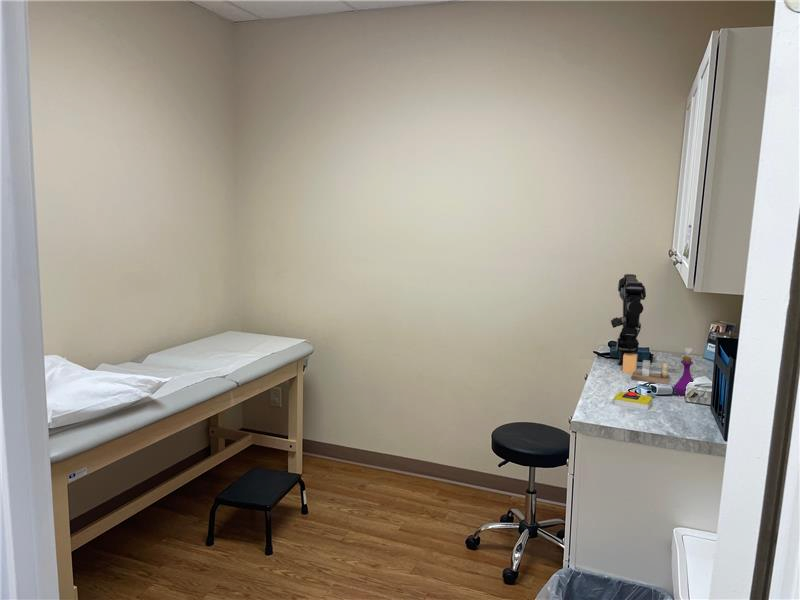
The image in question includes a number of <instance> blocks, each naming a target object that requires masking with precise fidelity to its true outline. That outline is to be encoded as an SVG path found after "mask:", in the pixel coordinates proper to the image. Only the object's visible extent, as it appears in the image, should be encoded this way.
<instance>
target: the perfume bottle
mask: <svg viewBox="0 0 800 600" xmlns="http://www.w3.org/2000/svg"><path fill="white" fill-rule="evenodd" d="M693 350H694V348H692V347H684V352H685V353H686V354H687V355H686V356H685V355H683V356H682V360H681V361H680V364H682V365H683V373H682V375H681V377H680V378H679V380H678V381H677V382H676V383H675V384H674V385H673V387H672V388H673V390H674V392H675V393H676V394H677V396H678V395H680V396H679V397H682V396H685V391H686V386H687V384H688V383H689V382H693V381H695V379H694V378H693V377H692V375H691V370H690V368H691V366H692V365H694V361H692V359H693V358H692V357H690V356H689V354H690V353H691V352H693Z"/></svg>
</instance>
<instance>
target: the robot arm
mask: <svg viewBox="0 0 800 600" xmlns="http://www.w3.org/2000/svg"><path fill="white" fill-rule="evenodd" d="M617 292H619V294H618V295H619V297H620V299H621V301H622V316H620V317H617V316H616V317H613V318H612V319H611V320H610V324H611V327H612V328H614V329H615V328H617V327H621V326H622V328H621V331H620V333H619V335H618V337H617V339H616V340H617V341H616V347H615V348H616V349H615V350H616V352H619V356H618V358H619V359H618V362H617V364H616V365H618V366H623V355H624V353H629V354H634V353H635V354H638V352H639V345H640V342H639V340H638V336H639V334H640V332H641V329H642V323H641V322H640V317H641V314H642V313H643V311H644V306H643V304H642V302H641V301H642V300H643V301H644V300H645V299H646V297H647V293H646V287H645V285H643V283H642V281H639V280H638V279H637V274H633V273H632V274H630V273H629V274H628V273H626V274H624V275H623V277H621V278H620V279H619V281H618V284H617Z"/></svg>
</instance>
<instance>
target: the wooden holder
mask: <svg viewBox="0 0 800 600" xmlns="http://www.w3.org/2000/svg"><path fill="white" fill-rule="evenodd" d="M669 363H670V362H667V361H662V362H661V367H660V368H661V369H660V373H653V372H651V371H650V368H651V367H650V366H651V360H649V359H648V360H646V359H643V360H642V369H641V370H642V371H637V370H636V371H634V372H633V374H631V377H630V378H631V379H630V380H631V381H639V382H646V381H648V383H654V382H655V384H665V385H670V379H671V375H670V374H669V367H670V365H669Z"/></svg>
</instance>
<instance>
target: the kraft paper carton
mask: <svg viewBox="0 0 800 600" xmlns="http://www.w3.org/2000/svg"><path fill="white" fill-rule="evenodd" d="M637 366H638V353H633V354H629V353H624V355H623V365H622V373H623V374H624V373H625V374H630V373H631V375H632V374H633V372H634V371H637V369H638V368H637Z"/></svg>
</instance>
